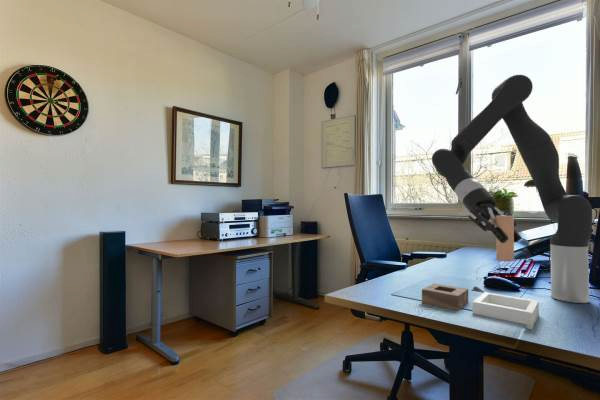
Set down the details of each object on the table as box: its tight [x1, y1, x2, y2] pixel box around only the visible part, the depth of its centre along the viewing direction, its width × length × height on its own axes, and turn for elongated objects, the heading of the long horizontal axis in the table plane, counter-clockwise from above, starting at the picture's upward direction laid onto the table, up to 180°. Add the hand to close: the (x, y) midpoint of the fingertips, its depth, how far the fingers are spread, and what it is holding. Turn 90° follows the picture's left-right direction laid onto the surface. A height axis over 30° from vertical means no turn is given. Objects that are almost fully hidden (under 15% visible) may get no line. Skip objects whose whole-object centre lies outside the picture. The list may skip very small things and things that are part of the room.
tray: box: [472, 291, 540, 330], centre depth 85 cm, size 13×13×4 cm
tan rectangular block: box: [495, 215, 515, 262], centre depth 85 cm, size 4×4×12 cm
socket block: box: [421, 282, 469, 312], centre depth 94 cm, size 10×10×5 cm
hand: (511, 240), depth 83 cm, fingers closed on tan rectangular block, 4 cm apart
